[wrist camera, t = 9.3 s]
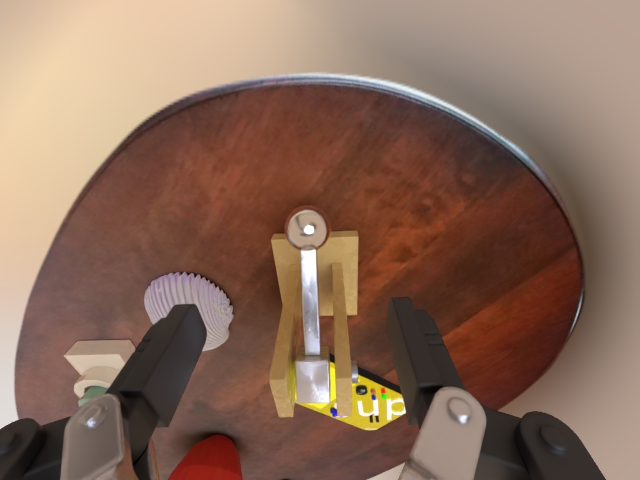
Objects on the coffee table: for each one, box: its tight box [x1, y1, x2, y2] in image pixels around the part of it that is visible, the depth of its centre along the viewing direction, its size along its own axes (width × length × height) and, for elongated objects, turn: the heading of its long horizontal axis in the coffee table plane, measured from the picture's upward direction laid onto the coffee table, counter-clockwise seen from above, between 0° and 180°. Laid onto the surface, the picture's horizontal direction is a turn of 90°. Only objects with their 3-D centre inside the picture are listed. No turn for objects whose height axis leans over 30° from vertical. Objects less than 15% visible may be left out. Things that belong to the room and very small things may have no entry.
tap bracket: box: [269, 230, 358, 417], centre depth 23 cm, size 10×8×13 cm
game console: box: [295, 354, 406, 430], centre depth 39 cm, size 18×11×2 cm, turn 56°
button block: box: [64, 340, 136, 399], centre depth 35 cm, size 11×7×4 cm, turn 3°
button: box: [78, 386, 108, 407], centre depth 33 cm, size 4×4×2 cm
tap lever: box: [284, 205, 331, 403], centre depth 19 cm, size 13×3×3 cm, turn 3°
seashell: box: [144, 272, 234, 351], centre depth 30 cm, size 10×6×10 cm
